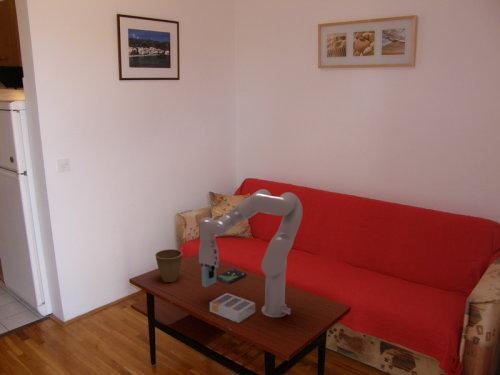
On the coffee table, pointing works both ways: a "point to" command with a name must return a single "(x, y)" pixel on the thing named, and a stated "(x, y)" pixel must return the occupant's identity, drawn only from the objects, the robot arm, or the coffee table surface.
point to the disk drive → (231, 276)
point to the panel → (207, 276)
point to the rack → (232, 307)
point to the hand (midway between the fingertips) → (209, 276)
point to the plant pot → (169, 264)
